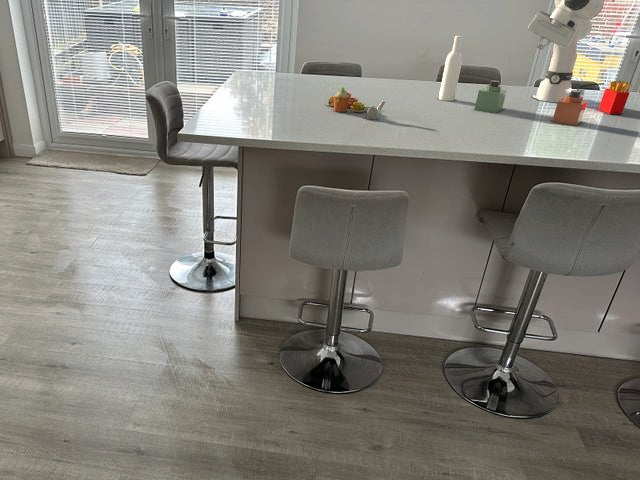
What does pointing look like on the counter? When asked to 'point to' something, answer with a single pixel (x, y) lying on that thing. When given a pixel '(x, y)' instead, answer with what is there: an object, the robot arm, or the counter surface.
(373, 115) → the grey mortar and pestle
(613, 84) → the french fries container
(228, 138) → the counter surface
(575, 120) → the clay bottle
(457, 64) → the bottle
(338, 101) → the toy tea set
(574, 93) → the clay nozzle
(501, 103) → the sage bottle
